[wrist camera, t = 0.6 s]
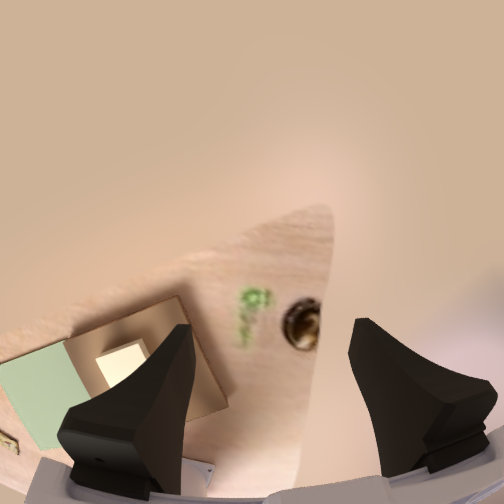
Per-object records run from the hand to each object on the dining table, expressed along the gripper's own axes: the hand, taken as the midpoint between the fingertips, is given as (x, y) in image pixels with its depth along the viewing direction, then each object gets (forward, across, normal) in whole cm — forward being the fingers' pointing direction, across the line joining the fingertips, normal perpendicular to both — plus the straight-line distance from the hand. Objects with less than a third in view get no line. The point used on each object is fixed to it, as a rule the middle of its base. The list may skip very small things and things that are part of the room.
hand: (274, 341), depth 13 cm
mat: (+9, +26, +19) cm, 33 cm away
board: (+13, +12, +15) cm, 23 cm away
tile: (+10, +12, +14) cm, 21 cm away
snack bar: (+5, +39, +26) cm, 47 cm away
